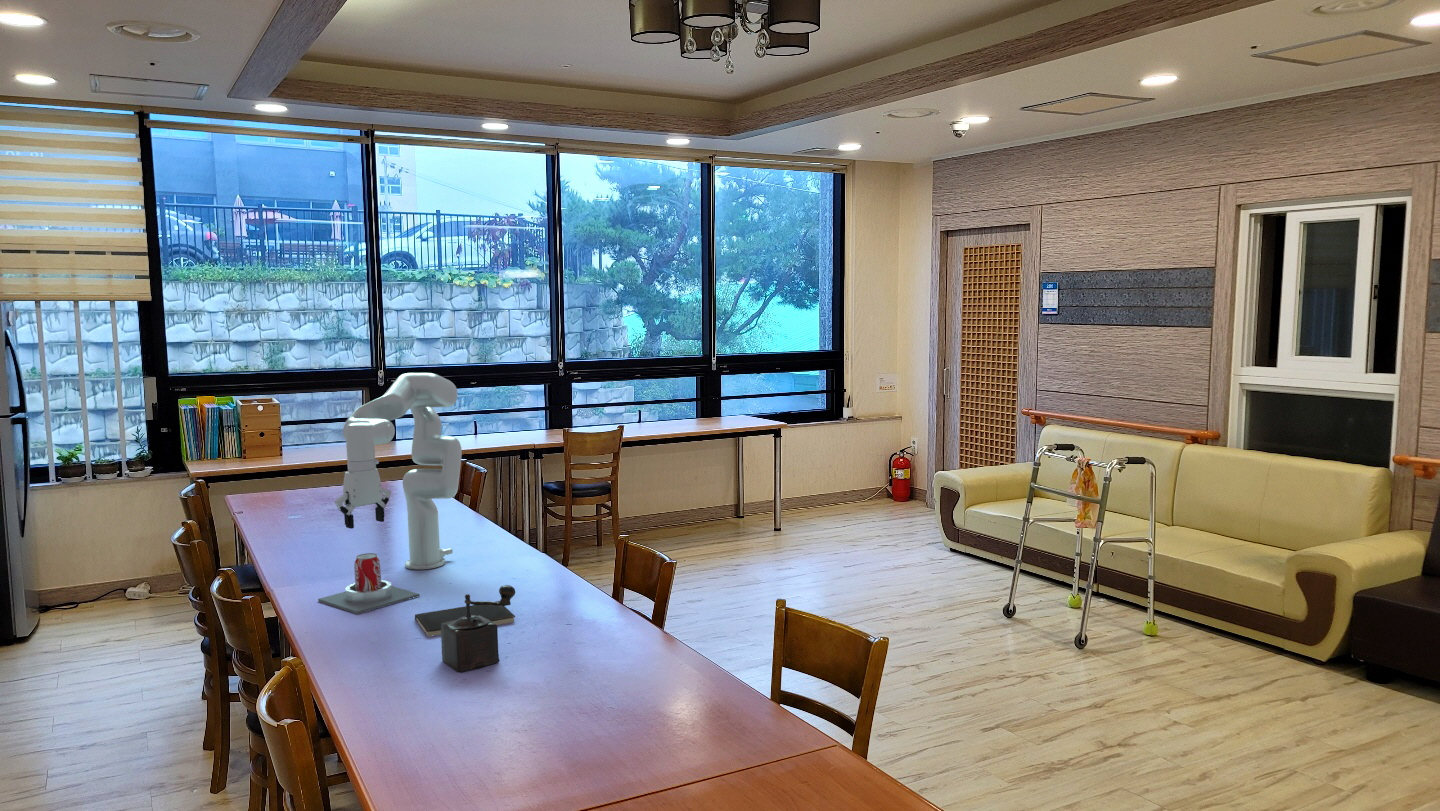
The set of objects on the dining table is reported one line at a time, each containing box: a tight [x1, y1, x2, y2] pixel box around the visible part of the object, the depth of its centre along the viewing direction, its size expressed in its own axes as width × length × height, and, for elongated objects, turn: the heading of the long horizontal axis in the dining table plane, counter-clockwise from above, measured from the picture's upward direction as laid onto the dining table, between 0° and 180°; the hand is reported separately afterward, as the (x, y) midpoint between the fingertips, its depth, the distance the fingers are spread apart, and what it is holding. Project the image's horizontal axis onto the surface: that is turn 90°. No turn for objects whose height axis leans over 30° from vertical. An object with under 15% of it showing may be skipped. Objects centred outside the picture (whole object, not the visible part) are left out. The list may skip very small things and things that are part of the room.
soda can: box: [354, 552, 382, 591], centre depth 288 cm, size 7×7×12 cm
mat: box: [318, 585, 420, 615], centre depth 289 cm, size 20×20×1 cm
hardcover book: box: [414, 600, 516, 637], centre depth 268 cm, size 16×23×2 cm
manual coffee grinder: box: [440, 584, 516, 674], centre depth 238 cm, size 16×11×18 cm
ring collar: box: [345, 579, 392, 603], centre depth 289 cm, size 12×12×3 cm
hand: (365, 524), depth 287 cm, fingers open, 9 cm apart
